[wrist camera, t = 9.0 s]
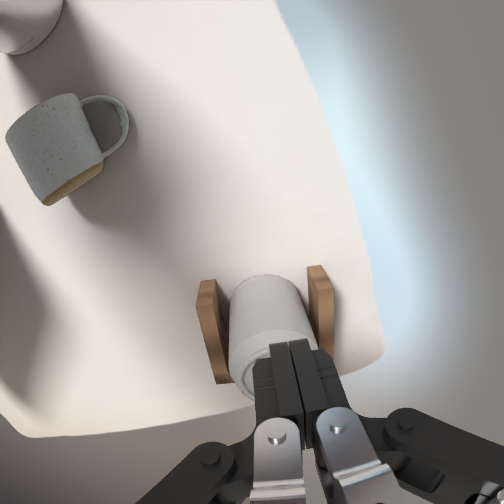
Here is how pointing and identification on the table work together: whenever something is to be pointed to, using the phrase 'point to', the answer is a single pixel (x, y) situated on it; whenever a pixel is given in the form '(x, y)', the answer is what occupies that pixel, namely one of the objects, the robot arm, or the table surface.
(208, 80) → the table surface
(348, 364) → the table surface
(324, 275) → the dock
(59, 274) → the table surface
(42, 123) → the ceramic mug
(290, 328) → the can
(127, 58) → the table surface
